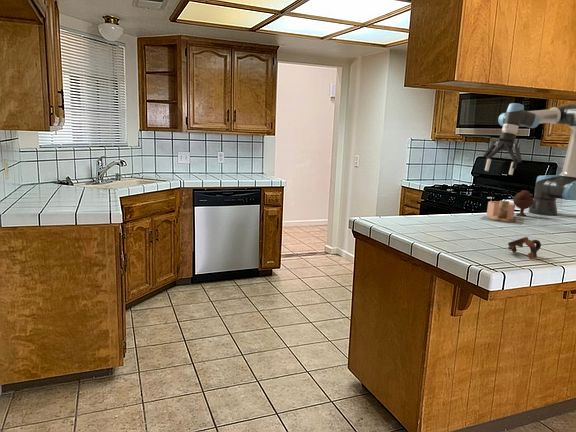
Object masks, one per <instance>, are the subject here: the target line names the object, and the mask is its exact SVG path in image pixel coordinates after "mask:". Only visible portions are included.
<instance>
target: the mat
mask: <svg viewBox="0 0 576 432" xmlns="http://www.w3.org/2000/svg"><path fill="white" fill-rule="evenodd" d="M479 220H481V221H490V222H494V221H493V220H490V219H489V216H487V215H483V216H482V217H480V218H479ZM495 222H497V223H499V222H498V221H495ZM524 222H525V220H520V219H516V222H513V223H510V224H512V225H519V226H520V225H522V224H523V223H524ZM502 223H504V224H509V223H508V222H502Z"/></svg>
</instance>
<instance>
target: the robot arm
mask: <svg viewBox="0 0 576 432" xmlns="http://www.w3.org/2000/svg"><path fill="white" fill-rule="evenodd" d="M497 122H498V124H499V125H500V127H502V128H501V132H500V135H499V138H498V139H499V140H498V141H497V140H493V141H492V143H491V145H490V146H489V148H488V149H487V150H486V152H485V153H484V154H483V155H482V156H483V157H484V158H485V161H484V165H485V166H484V167H485V168H484V171H485V172H489V170H490V165H491V162H492V158H493V157H494V156H495V155H497V154H498V153H499V152H501V151H503V152H504V151H505V152H508V154H509V156H510V157H511V160H512V161H511V163H510V167H509V170H508V175H511V176H513V174H514V170H515V169H517V166H518V163H522V162H523V159H522V155H521V150H520V146H521V145H520V143H518V142H516V138H517V134H518V131H519V127H526V128H530V129H535V128H537V127H538V126H539V125H540V124H550V125H564V126H565V125H568V126H569V129H570V130H571V133H570V136H569V137H570V138H569V141H568V145H567V149H566V154H565V158H564V161H563V167H562V171H561V172H560V173H559V174H557V175H556V174H554V175H550V174H549V175H538V176H537V177H536V181H535V186H534V196H533V200H534V203H533V204H532V206H530V207H529V208H528V212H529V213H532V214H536V215H543V216H557V215H558V207H557V203H556V201H557V199H560V200H563V201H576V103H570V104H566V105H560V106H553V107H550V108H549V109H541V110H540V109H539V110H538V109H537V110H525V105H524V104H521V103H516V102H515V103H514V102H512V103H509V104H508V107H507V109H506V112H502V113H500V115H499V116H498V121H497ZM513 148H514V150H515V152H514V150H513Z"/></svg>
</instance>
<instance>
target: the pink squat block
mask: <svg viewBox="0 0 576 432" xmlns="http://www.w3.org/2000/svg"><path fill="white" fill-rule="evenodd" d="M500 201H501V200H499V201H496V200H494V201H492V200H490V201H488V202H487V209H486V216H498V211H499V204H500ZM515 209H516V205H515V204H514V202H513V203H512V202H509V206H508V213H507V217H511V218H514V216H515Z"/></svg>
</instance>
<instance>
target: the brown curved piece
mask: <svg viewBox="0 0 576 432" xmlns="http://www.w3.org/2000/svg"><path fill="white" fill-rule="evenodd" d="M524 243H525V244H526V246H527V247H528V248H529V249H530V250H529V251H530V252H528V253H527V256H528V259H529V260H533V259H536V258H538V253H537V252H538V251H539V250H540V249H541V248H542V243H541V242H540V240H538V239H533V240H531V239H529V237H528V236H524V237H522V238H518V239H516V240H512V241H510V242H508V243H507V245H508V247H507V250H510V251H511V252H513V253H516V252H517V251H518V250H517V247H520V248H523V247H524Z"/></svg>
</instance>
